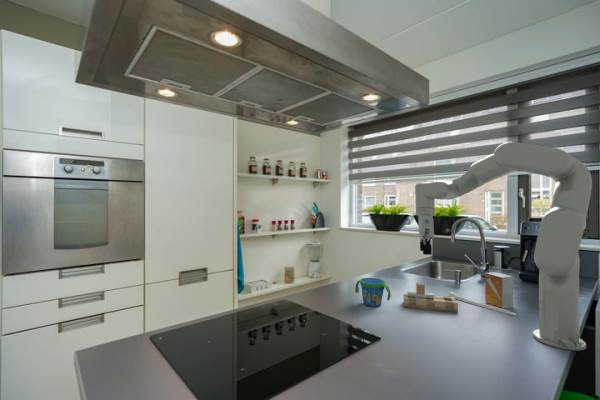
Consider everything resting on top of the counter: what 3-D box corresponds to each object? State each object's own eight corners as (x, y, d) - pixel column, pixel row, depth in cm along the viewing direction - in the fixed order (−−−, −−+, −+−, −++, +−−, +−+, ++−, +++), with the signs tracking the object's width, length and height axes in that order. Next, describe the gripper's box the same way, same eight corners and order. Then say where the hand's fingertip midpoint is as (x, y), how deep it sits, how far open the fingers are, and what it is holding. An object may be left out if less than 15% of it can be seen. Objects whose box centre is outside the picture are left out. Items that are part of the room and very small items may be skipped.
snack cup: (395, 306, 125) (395, 281, 125) (381, 312, 118) (381, 286, 118) (364, 297, 136) (364, 275, 136) (350, 302, 129) (350, 279, 129)
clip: (433, 306, 122) (433, 285, 122) (408, 304, 124) (408, 283, 124) (432, 304, 124) (432, 283, 125) (407, 301, 127) (407, 281, 127)
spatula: (520, 315, 116) (520, 308, 116) (515, 317, 114) (515, 310, 114) (451, 296, 140) (451, 290, 140) (446, 297, 137) (446, 291, 137)
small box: (484, 302, 130) (484, 272, 130) (495, 301, 132) (495, 271, 132) (502, 308, 122) (502, 277, 122) (513, 307, 124) (513, 276, 124)
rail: (457, 312, 117) (457, 302, 117) (404, 307, 123) (404, 298, 123) (454, 307, 124) (454, 297, 124) (403, 302, 130) (403, 293, 130)
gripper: (438, 212, 115) (439, 256, 115) (431, 211, 132) (432, 249, 132) (417, 212, 117) (418, 255, 117) (413, 211, 134) (414, 249, 134)
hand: (425, 252), depth 124 cm, fingers open, 9 cm apart
